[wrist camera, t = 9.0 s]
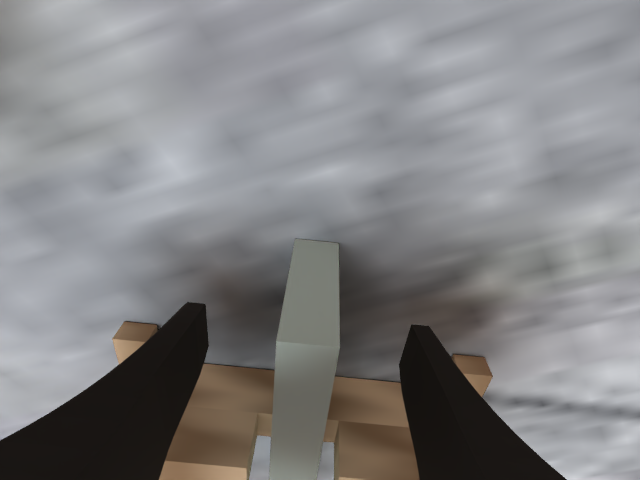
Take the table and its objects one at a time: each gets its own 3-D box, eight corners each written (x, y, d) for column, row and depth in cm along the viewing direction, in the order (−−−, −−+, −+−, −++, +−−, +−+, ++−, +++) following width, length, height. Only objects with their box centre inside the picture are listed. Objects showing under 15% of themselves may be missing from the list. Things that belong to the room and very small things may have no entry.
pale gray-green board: (277, 470, 22) (263, 581, 17) (295, 238, 13) (276, 341, 9) (304, 472, 22) (297, 584, 17) (338, 243, 14) (340, 348, 9)
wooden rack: (142, 406, 19) (94, 503, 15) (121, 321, 16) (55, 415, 12) (448, 436, 19) (476, 537, 16) (486, 357, 16) (532, 460, 12)
